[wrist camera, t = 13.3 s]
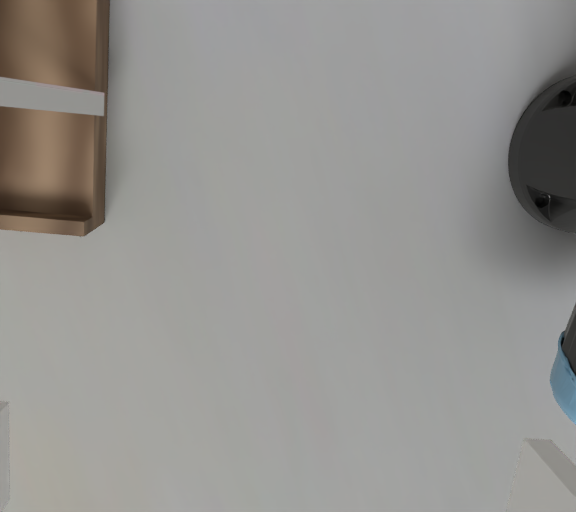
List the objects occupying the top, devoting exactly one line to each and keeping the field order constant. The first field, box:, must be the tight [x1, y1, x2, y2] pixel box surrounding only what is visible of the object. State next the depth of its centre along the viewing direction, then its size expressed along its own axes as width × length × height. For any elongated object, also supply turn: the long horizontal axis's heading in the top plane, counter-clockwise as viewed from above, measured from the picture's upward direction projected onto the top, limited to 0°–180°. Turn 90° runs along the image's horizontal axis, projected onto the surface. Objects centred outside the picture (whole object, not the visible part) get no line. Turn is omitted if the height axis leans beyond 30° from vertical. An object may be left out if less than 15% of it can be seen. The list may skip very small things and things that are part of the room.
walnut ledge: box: [0, 0, 110, 236], centre depth 43 cm, size 15×22×6 cm
